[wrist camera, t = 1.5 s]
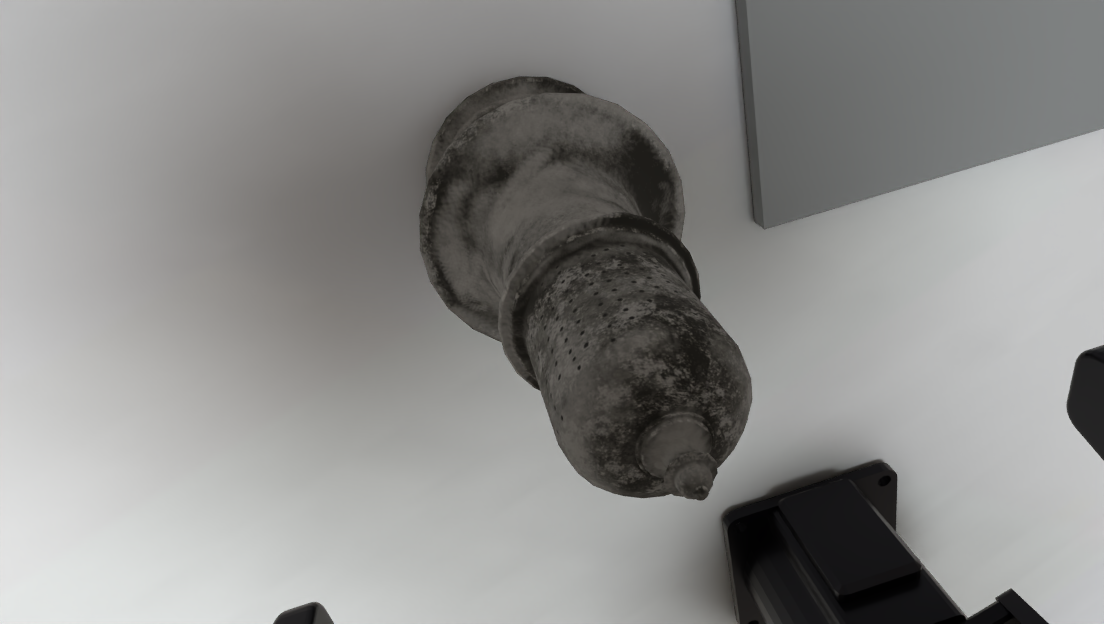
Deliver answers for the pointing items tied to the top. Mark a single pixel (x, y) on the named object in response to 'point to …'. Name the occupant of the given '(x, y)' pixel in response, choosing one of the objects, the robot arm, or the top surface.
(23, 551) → the top surface
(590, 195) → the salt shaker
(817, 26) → the slate mat
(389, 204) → the top surface
